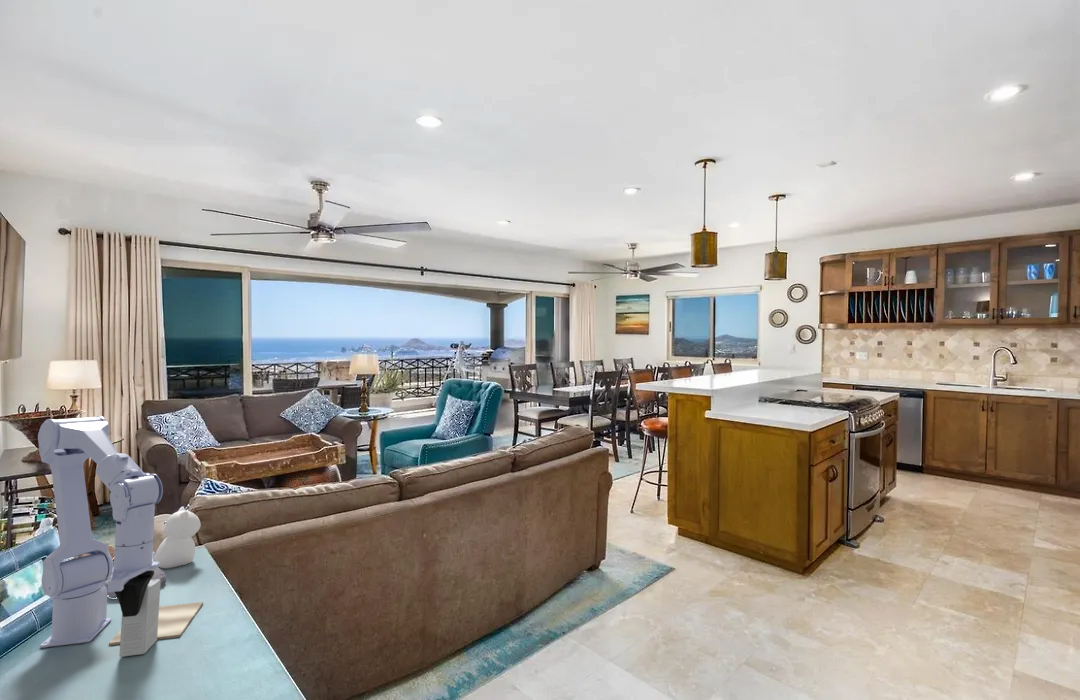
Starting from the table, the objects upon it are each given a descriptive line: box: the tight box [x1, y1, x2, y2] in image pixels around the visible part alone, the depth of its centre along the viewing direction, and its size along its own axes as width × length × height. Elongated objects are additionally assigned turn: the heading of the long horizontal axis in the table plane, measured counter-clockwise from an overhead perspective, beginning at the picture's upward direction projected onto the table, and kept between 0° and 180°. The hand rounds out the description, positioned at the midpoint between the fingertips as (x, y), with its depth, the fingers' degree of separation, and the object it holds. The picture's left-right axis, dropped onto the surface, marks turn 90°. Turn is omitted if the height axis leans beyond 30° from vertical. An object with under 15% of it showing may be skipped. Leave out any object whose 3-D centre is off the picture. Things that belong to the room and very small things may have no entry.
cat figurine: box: [154, 506, 201, 569], centre depth 142 cm, size 9×12×15 cm
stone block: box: [105, 566, 167, 598], centre depth 127 cm, size 12×5×10 cm
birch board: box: [108, 601, 204, 646], centre depth 111 cm, size 15×12×1 cm
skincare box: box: [118, 579, 161, 658], centre depth 101 cm, size 6×4×12 cm
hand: (131, 615), depth 97 cm, fingers closed
